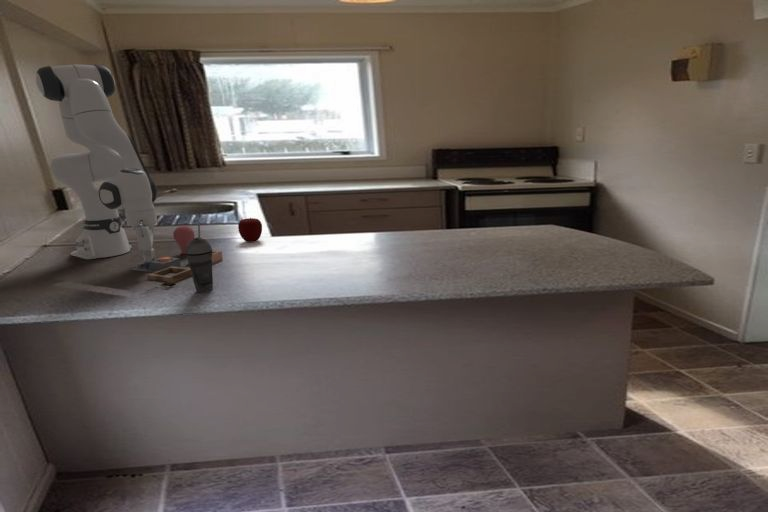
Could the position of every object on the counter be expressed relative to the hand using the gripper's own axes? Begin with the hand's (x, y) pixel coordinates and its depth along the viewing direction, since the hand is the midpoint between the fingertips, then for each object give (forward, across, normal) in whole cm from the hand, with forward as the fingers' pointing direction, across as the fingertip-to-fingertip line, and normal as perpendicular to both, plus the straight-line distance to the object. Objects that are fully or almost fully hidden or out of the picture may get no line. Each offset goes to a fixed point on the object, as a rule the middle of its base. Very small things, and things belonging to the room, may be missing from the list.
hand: (149, 259), depth 153 cm
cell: (+3, +1, 0) cm, 3 cm away
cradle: (+4, -1, -2) cm, 5 cm away
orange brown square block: (+4, -3, -17) cm, 18 cm away
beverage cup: (+5, -31, -14) cm, 34 cm away
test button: (+2, -4, -5) cm, 6 cm away
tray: (+5, -15, -6) cm, 16 cm away
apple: (+4, +25, -37) cm, 45 cm away
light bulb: (+4, +14, -12) cm, 18 cm away
